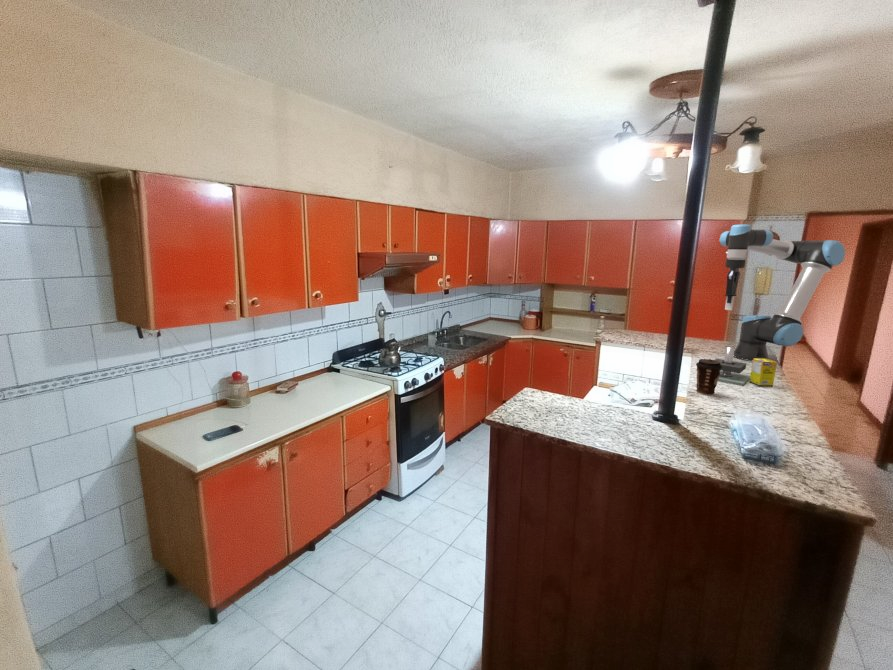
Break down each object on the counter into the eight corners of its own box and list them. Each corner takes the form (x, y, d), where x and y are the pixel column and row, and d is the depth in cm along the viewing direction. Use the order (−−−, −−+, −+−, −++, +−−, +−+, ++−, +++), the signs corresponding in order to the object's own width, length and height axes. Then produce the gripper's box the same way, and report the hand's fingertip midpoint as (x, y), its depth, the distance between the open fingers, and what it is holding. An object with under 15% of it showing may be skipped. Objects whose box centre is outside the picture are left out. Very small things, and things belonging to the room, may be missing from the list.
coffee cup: (711, 389, 171) (716, 358, 169) (722, 396, 163) (727, 364, 161) (689, 388, 172) (693, 357, 169) (699, 395, 164) (703, 363, 161)
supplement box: (773, 387, 175) (777, 362, 173) (758, 387, 175) (762, 361, 173) (762, 382, 181) (767, 358, 179) (748, 382, 181) (752, 358, 179)
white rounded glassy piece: (721, 373, 190) (725, 345, 187) (733, 375, 187) (737, 347, 184) (719, 375, 187) (723, 347, 184) (730, 377, 184) (735, 349, 181)
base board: (710, 370, 198) (710, 368, 198) (751, 378, 187) (751, 375, 187) (700, 377, 187) (700, 375, 187) (743, 386, 176) (743, 383, 176)
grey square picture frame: (716, 363, 194) (716, 358, 194) (745, 368, 186) (746, 363, 186) (709, 368, 186) (709, 362, 186) (739, 373, 178) (740, 368, 178)
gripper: (730, 258, 201) (722, 307, 205) (722, 259, 192) (715, 310, 197) (748, 259, 196) (741, 309, 200) (742, 259, 187) (734, 312, 191)
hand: (728, 309), depth 198 cm, fingers closed
